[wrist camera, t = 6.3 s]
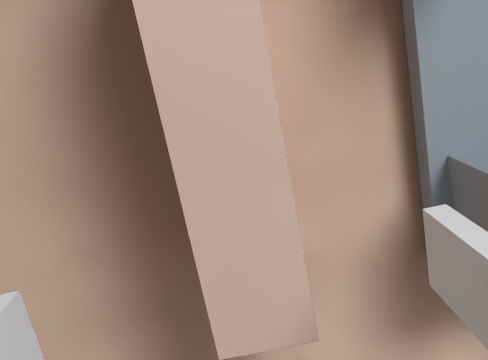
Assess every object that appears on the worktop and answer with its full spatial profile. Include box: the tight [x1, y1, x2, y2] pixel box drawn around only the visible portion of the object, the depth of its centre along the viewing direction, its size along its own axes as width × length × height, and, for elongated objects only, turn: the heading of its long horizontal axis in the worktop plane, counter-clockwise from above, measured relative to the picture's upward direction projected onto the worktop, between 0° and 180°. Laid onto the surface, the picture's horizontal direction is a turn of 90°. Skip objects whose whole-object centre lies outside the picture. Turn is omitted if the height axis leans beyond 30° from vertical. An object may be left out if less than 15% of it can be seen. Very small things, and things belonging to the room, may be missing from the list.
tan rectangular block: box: [132, 0, 319, 360], centre depth 20 cm, size 4×20×9 cm, turn 11°
